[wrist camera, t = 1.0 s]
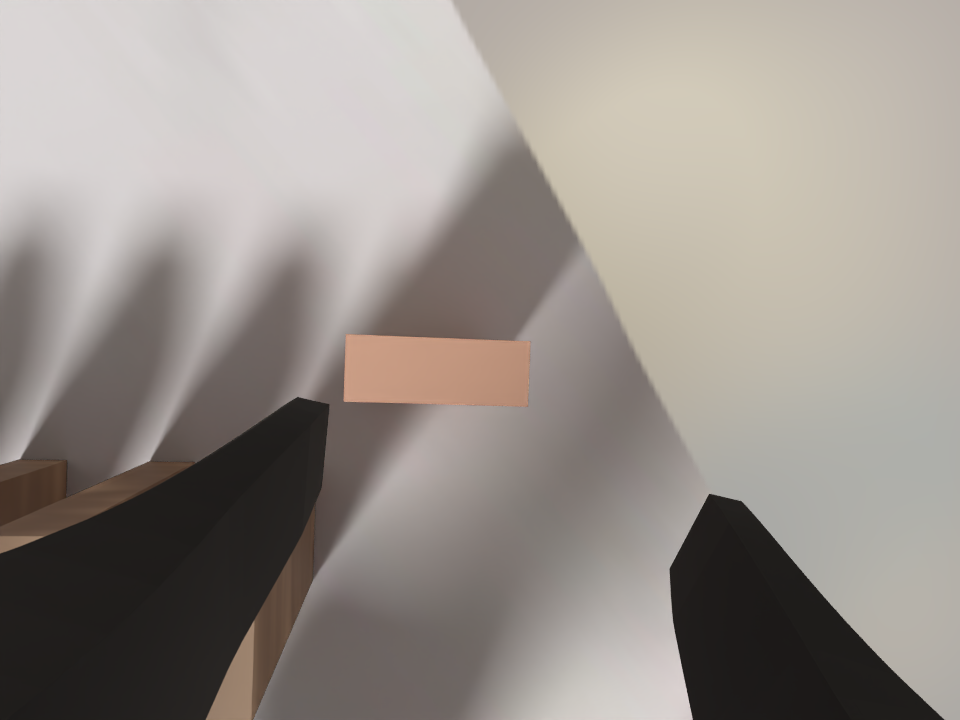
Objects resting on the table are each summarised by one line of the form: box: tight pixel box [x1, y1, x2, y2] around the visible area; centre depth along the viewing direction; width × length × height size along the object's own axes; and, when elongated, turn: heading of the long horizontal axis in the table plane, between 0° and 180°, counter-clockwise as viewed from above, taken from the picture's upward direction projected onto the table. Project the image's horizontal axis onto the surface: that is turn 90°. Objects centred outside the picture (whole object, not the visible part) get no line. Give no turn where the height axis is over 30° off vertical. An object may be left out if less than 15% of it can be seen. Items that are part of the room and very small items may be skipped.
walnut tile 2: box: [206, 505, 315, 720], centre depth 21 cm, size 2×5×10 cm, turn 178°
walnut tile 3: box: [0, 461, 195, 553], centre depth 20 cm, size 2×5×10 cm, turn 178°
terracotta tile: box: [344, 334, 530, 407], centre depth 21 cm, size 2×5×10 cm, turn 87°
